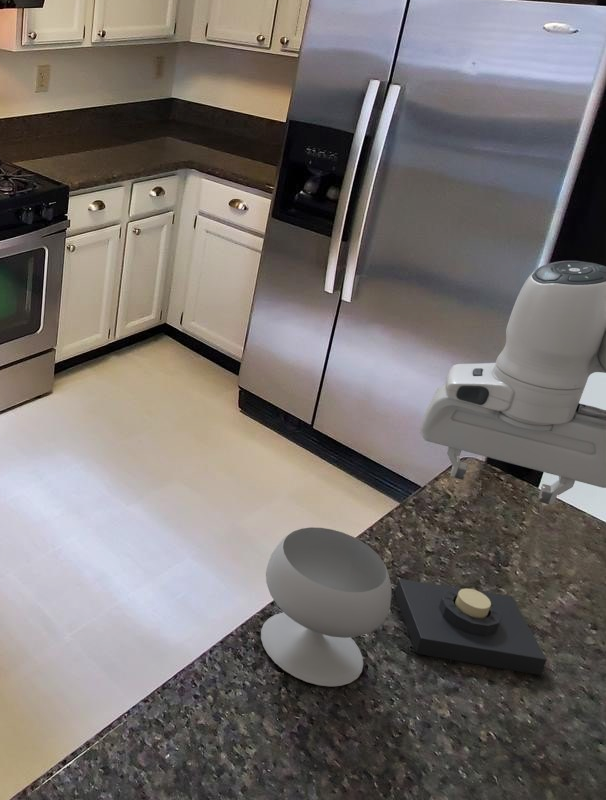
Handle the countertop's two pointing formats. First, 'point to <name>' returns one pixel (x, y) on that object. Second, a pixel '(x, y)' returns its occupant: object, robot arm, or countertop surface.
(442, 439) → the robot arm
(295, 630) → the chalice
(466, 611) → the push button switch
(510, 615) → the push button plate
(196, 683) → the countertop surface
